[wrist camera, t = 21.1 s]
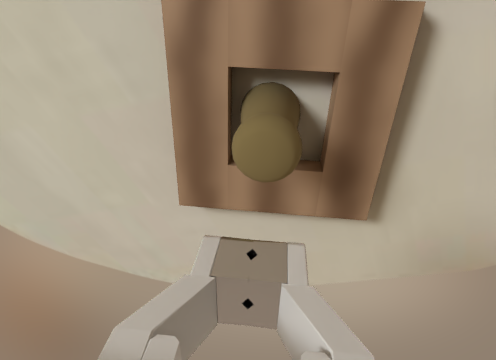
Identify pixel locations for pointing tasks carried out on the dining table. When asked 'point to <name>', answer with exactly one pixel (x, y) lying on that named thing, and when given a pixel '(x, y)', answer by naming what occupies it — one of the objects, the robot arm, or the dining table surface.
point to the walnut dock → (288, 58)
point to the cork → (268, 133)
